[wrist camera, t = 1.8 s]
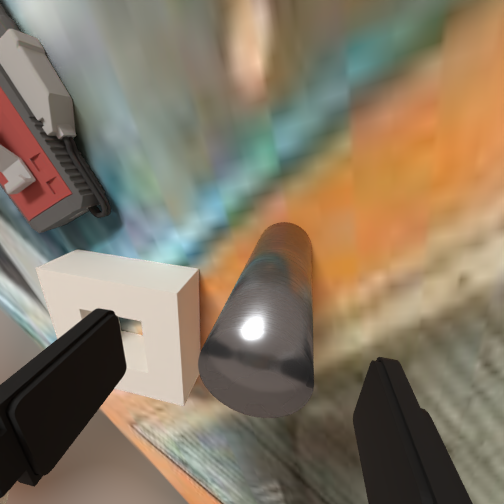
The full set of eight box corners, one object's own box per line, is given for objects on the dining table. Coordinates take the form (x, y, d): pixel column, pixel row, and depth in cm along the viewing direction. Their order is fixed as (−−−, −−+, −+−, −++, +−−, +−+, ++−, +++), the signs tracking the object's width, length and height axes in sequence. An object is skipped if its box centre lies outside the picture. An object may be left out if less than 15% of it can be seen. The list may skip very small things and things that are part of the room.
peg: (315, 226, 18) (323, 343, 8) (307, 274, 20) (304, 429, 9) (260, 219, 19) (196, 319, 8) (256, 267, 21) (198, 402, 10)
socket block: (198, 268, 22) (176, 293, 18) (200, 370, 27) (183, 406, 23) (77, 249, 24) (35, 268, 20) (99, 347, 29) (69, 377, 25)
